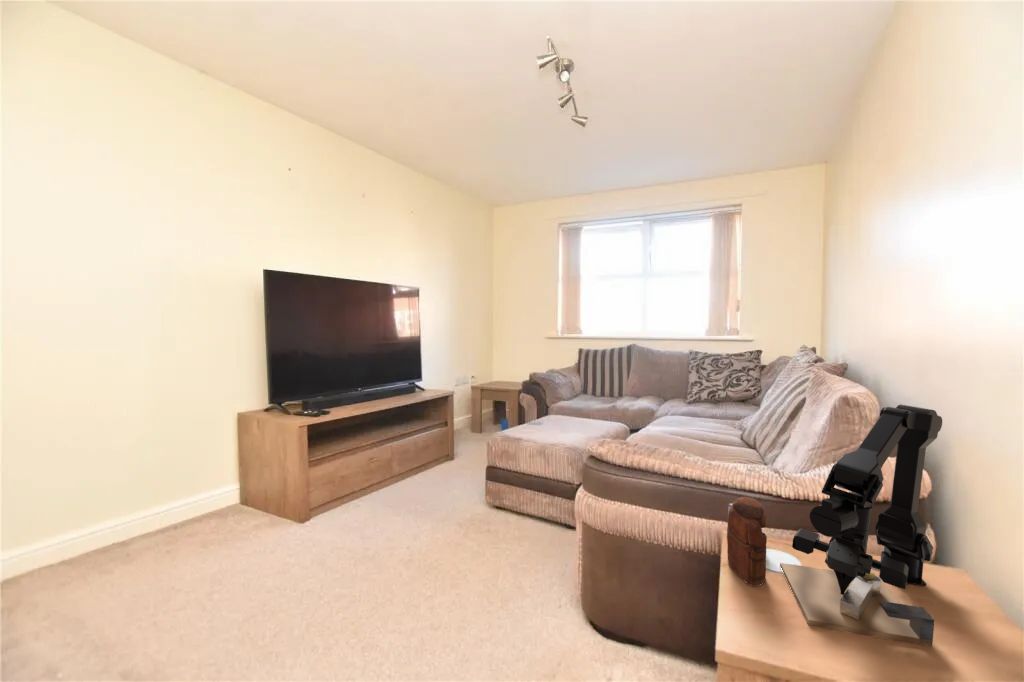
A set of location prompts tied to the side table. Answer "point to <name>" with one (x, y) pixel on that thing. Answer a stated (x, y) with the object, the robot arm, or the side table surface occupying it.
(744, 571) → the brown wooden carving
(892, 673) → the side table surface
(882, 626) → the board
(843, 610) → the link
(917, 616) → the keeper
